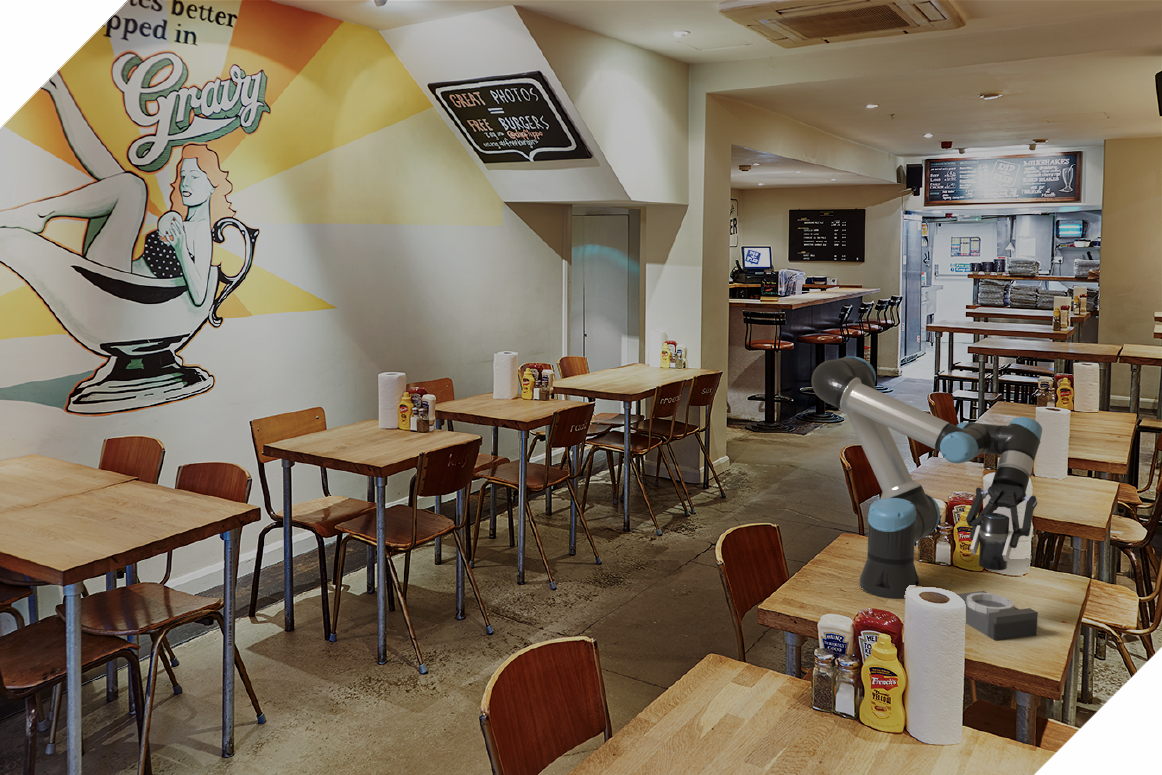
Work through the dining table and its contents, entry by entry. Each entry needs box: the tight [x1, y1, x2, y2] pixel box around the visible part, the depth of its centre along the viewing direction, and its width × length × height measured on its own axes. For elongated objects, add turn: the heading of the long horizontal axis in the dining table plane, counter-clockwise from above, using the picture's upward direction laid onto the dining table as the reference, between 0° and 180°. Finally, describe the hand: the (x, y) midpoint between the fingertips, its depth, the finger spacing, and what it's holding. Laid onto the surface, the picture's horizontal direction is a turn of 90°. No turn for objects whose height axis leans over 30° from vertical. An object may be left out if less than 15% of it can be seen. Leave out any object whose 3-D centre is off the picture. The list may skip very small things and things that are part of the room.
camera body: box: [956, 590, 1039, 641], centre depth 204 cm, size 18×11×6 cm, turn 13°
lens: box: [978, 512, 1010, 571], centre depth 201 cm, size 6×6×12 cm
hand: (988, 554), depth 199 cm, fingers closed on lens, 6 cm apart
